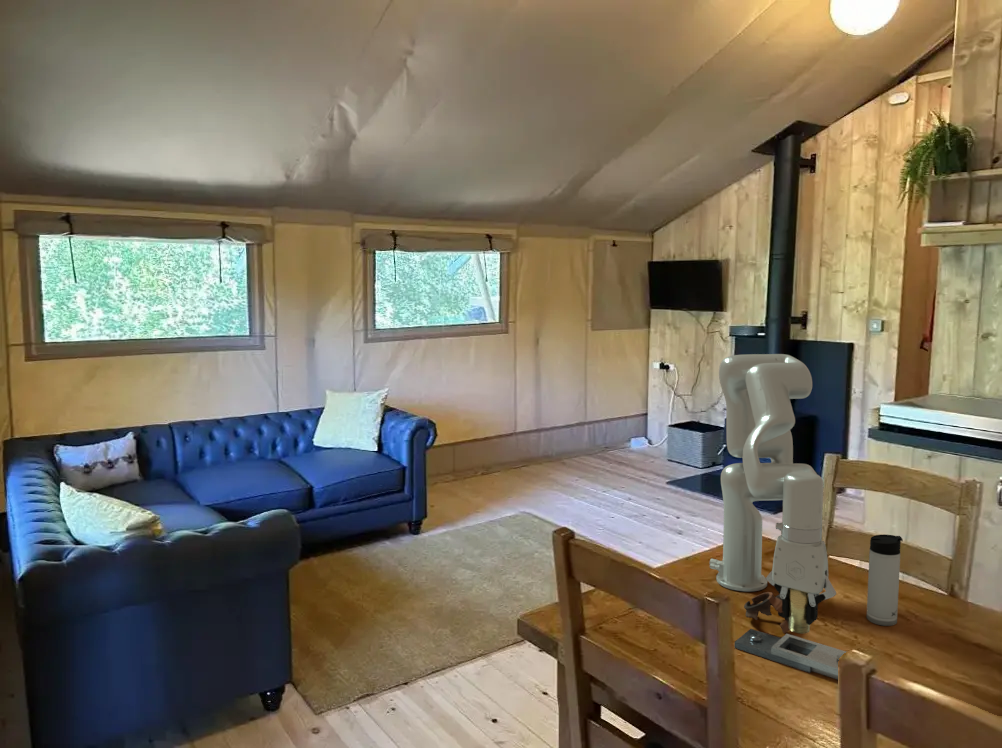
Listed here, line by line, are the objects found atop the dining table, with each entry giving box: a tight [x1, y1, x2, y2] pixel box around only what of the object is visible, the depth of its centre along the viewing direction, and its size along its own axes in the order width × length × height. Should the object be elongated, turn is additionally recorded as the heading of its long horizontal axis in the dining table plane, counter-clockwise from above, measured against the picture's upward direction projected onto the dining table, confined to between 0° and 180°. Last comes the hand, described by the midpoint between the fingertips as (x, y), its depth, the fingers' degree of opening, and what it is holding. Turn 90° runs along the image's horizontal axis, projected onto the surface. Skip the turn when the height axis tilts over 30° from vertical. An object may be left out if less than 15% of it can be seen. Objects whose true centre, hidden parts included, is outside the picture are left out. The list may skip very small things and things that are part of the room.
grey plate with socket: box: [734, 628, 847, 680], centre depth 157 cm, size 24×8×3 cm, turn 48°
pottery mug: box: [743, 591, 791, 634], centre depth 173 cm, size 12×10×8 cm
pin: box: [789, 588, 811, 635], centre depth 155 cm, size 5×5×11 cm
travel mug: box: [866, 534, 903, 627], centre depth 172 cm, size 6×7×20 cm
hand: (799, 618), depth 156 cm, fingers closed on pin, 4 cm apart
